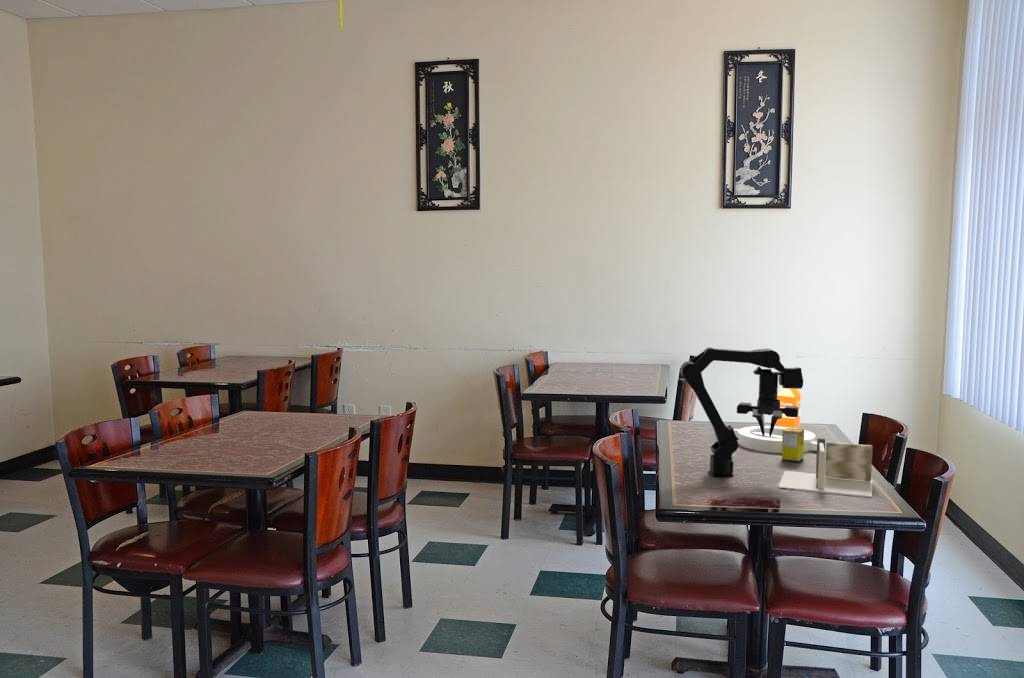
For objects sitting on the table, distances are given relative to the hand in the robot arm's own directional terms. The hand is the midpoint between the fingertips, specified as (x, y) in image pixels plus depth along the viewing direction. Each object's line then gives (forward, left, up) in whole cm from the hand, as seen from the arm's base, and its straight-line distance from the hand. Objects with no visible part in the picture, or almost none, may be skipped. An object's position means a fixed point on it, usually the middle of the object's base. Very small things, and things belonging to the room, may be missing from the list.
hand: (766, 436), depth 278 cm
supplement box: (+18, +19, -13) cm, 29 cm away
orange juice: (+39, +69, -13) cm, 80 cm away
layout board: (+14, -12, -13) cm, 23 cm away
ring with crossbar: (+23, +44, -14) cm, 51 cm away
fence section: (+22, -9, -13) cm, 27 cm away
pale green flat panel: (+12, -13, -12) cm, 22 cm away
